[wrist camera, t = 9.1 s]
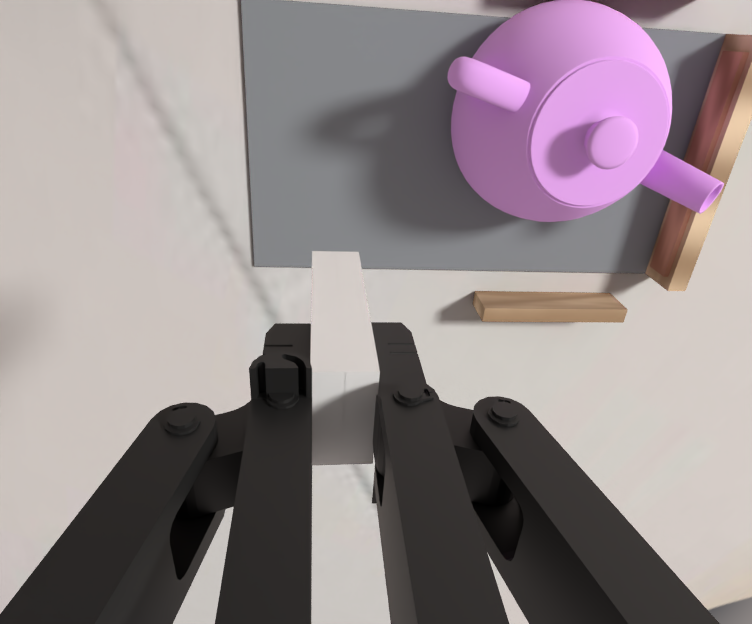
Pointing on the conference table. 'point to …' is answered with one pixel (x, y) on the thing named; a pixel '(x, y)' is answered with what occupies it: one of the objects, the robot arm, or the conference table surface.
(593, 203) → the teapot
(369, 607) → the conference table surface
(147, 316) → the conference table surface
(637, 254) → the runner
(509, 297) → the bay
